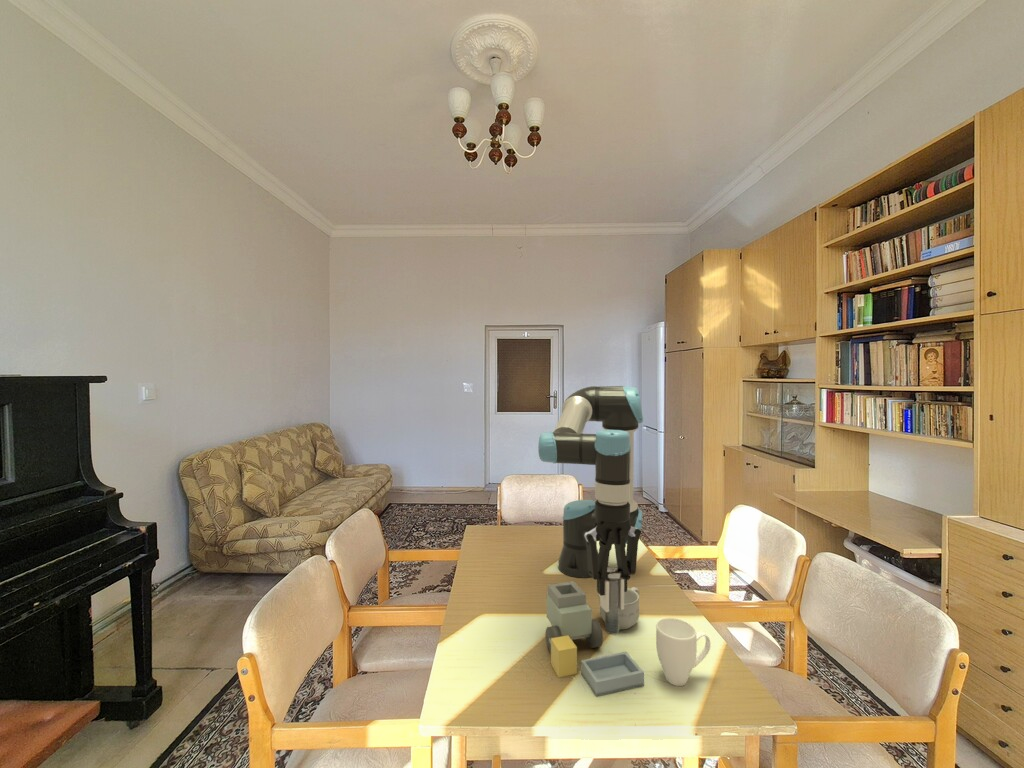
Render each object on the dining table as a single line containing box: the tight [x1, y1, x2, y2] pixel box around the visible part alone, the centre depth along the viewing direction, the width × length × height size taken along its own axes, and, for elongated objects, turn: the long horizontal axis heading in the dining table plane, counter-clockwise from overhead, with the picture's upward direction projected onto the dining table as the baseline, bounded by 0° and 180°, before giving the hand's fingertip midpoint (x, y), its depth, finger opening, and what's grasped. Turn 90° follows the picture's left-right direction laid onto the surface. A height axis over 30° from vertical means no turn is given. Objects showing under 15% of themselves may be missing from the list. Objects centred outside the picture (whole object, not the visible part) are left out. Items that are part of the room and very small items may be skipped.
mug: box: [655, 617, 711, 687], centre depth 96 cm, size 12×8×11 cm
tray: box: [580, 651, 645, 698], centre depth 95 cm, size 11×7×3 cm, turn 106°
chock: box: [550, 635, 578, 678], centre depth 99 cm, size 4×5×6 cm
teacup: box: [597, 586, 640, 630], centre depth 119 cm, size 14×11×8 cm
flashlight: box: [604, 566, 621, 635], centre depth 95 cm, size 4×4×13 cm
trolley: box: [545, 580, 604, 655], centre depth 109 cm, size 13×12×12 cm
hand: (612, 607), depth 95 cm, fingers closed on flashlight, 3 cm apart
